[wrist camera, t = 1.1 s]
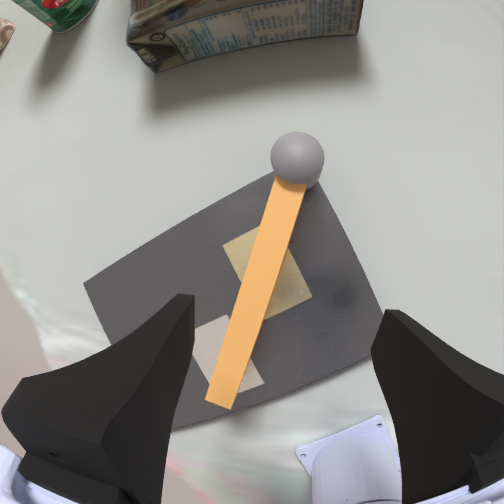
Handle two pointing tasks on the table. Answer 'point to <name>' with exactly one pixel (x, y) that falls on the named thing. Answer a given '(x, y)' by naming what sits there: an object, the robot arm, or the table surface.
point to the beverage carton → (229, 26)
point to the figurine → (5, 32)
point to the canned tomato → (59, 12)
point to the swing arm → (265, 259)
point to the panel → (227, 288)
